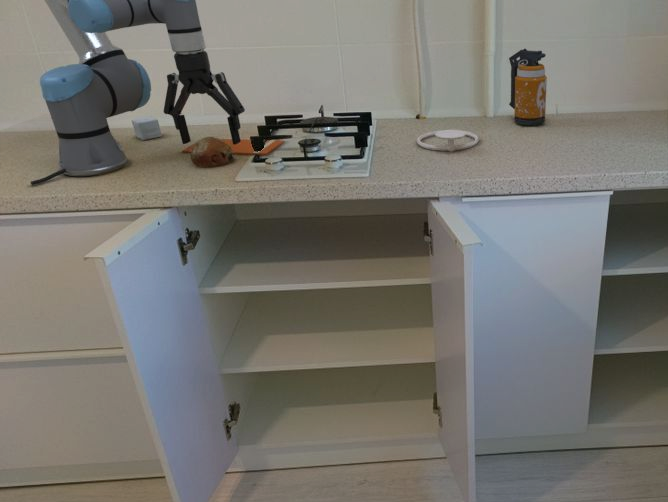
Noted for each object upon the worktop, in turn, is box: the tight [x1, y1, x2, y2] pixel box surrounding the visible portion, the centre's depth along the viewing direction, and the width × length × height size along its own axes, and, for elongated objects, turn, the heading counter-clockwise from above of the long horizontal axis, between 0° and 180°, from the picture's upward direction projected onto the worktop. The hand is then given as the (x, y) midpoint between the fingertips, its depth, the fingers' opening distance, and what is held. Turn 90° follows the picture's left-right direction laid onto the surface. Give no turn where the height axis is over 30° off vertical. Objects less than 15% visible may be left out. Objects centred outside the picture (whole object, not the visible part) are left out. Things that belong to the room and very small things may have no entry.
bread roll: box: [189, 136, 235, 169], centre depth 170 cm, size 10×10×8 cm
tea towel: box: [181, 138, 285, 156], centre depth 182 cm, size 12×24×1 cm, turn 81°
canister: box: [508, 48, 548, 127], centre depth 192 cm, size 9×11×20 cm
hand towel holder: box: [416, 129, 480, 153], centre depth 179 cm, size 17×4×21 cm
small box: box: [131, 116, 163, 141], centre depth 192 cm, size 6×6×5 cm
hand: (211, 143), depth 168 cm, fingers open, 13 cm apart
